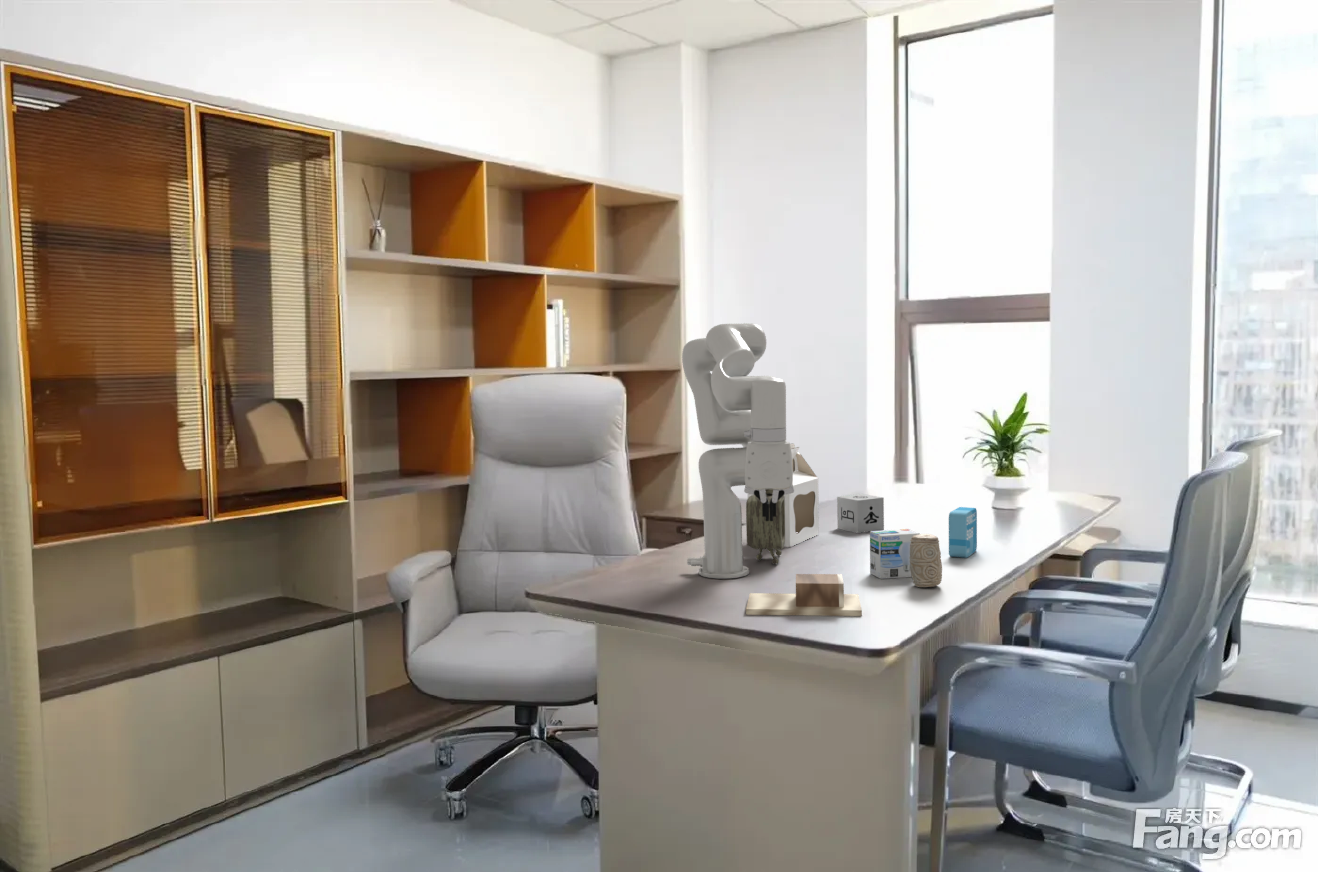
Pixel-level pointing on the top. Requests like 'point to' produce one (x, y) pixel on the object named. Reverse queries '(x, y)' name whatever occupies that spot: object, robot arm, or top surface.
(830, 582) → the walnut block
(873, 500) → the icon cube
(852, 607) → the birch board
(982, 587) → the top surface
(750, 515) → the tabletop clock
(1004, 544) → the top surface
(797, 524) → the gable box
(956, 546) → the data package
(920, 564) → the carving
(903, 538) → the light bulb box
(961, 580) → the top surface
